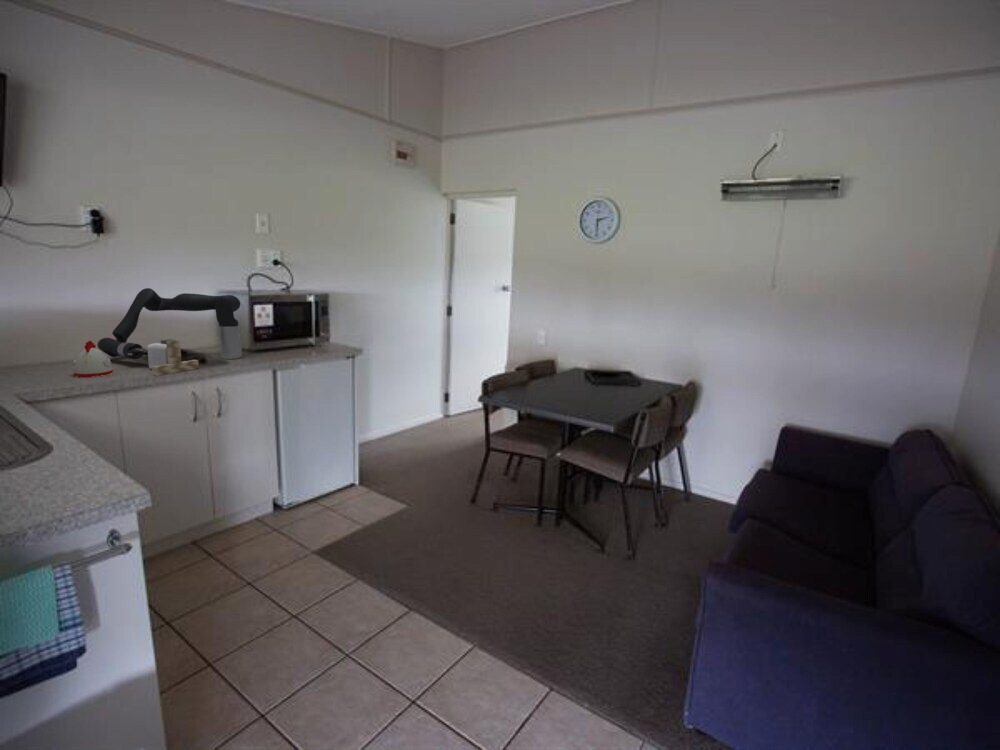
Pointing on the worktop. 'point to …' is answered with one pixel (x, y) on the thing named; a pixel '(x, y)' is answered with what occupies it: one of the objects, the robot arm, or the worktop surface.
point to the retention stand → (174, 360)
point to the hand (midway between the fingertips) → (153, 354)
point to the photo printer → (157, 354)
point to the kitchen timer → (91, 362)
